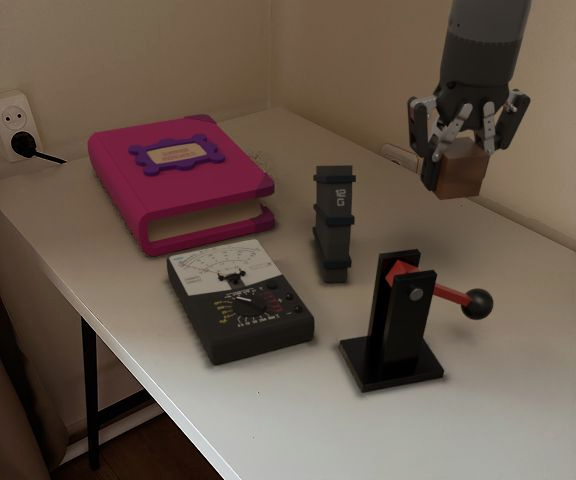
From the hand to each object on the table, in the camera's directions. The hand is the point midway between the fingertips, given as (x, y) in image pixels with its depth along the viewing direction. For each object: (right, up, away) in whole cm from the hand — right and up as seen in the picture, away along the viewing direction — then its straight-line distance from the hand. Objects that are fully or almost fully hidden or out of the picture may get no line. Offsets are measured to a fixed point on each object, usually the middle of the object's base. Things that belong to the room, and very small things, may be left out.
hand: (451, 185), depth 75 cm
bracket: (-7, -21, 0) cm, 22 cm away
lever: (-3, -15, -5) cm, 16 cm away
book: (-37, +6, +26) cm, 45 cm away
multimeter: (-26, -14, +7) cm, 30 cm away
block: (0, 0, 0) cm, 0 cm away
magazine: (-14, -6, +16) cm, 21 cm away
